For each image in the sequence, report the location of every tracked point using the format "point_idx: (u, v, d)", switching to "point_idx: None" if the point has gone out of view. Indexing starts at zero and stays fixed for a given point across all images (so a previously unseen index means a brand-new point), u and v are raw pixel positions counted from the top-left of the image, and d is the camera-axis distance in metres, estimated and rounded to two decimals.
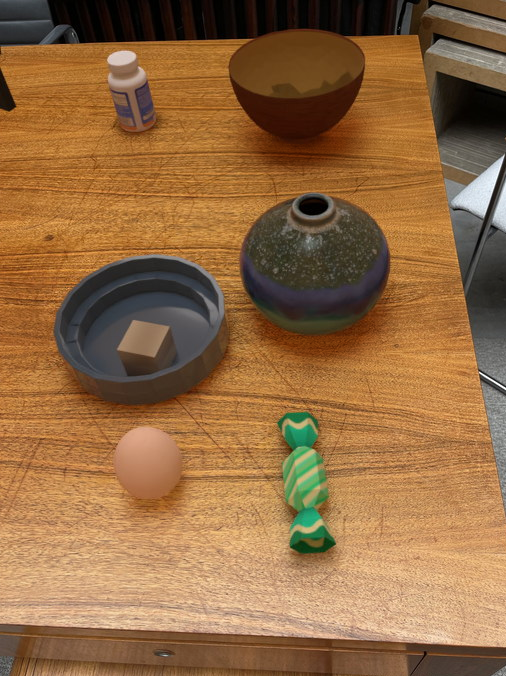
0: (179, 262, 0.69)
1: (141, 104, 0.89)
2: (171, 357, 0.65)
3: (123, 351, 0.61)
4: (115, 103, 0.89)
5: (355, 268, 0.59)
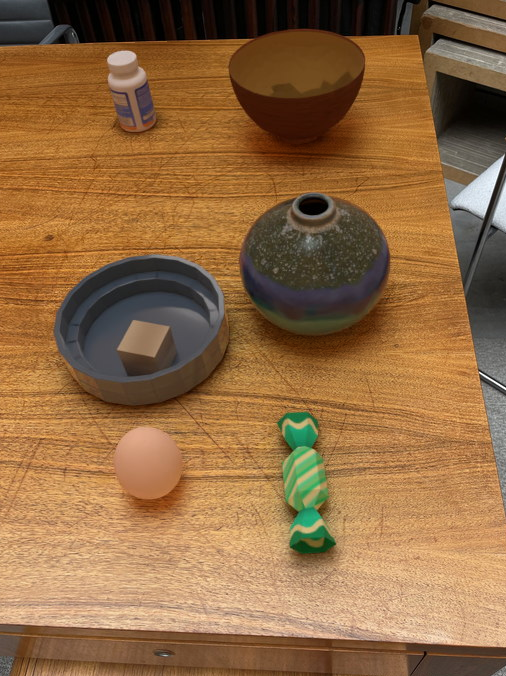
0: (179, 262, 0.69)
1: (141, 104, 0.89)
2: (171, 357, 0.65)
3: (123, 351, 0.61)
4: (115, 103, 0.89)
5: (355, 268, 0.59)
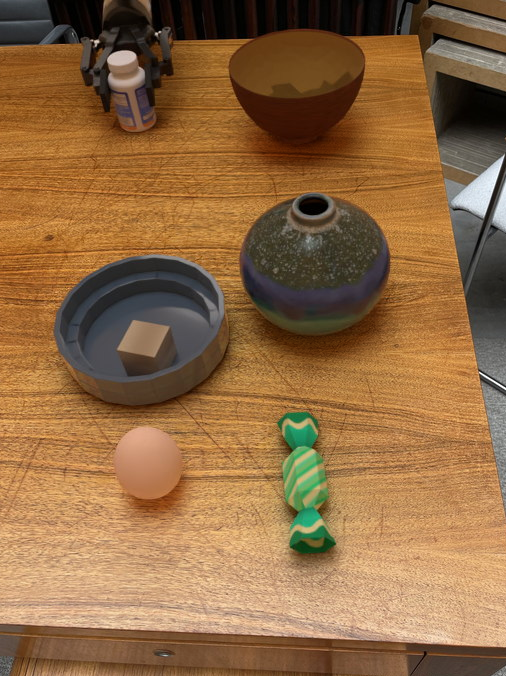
0: (179, 262, 0.69)
1: (141, 104, 0.89)
2: (171, 357, 0.65)
3: (123, 351, 0.61)
4: (115, 103, 0.89)
5: (355, 268, 0.59)
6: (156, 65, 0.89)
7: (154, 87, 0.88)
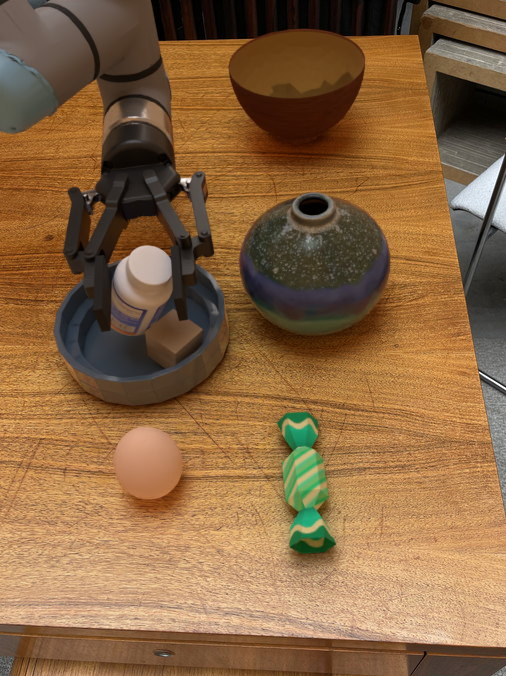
0: None
1: (157, 315, 0.60)
2: None
3: (150, 335, 0.61)
4: (117, 308, 0.59)
5: (355, 268, 0.59)
6: (188, 247, 0.57)
7: (185, 284, 0.56)
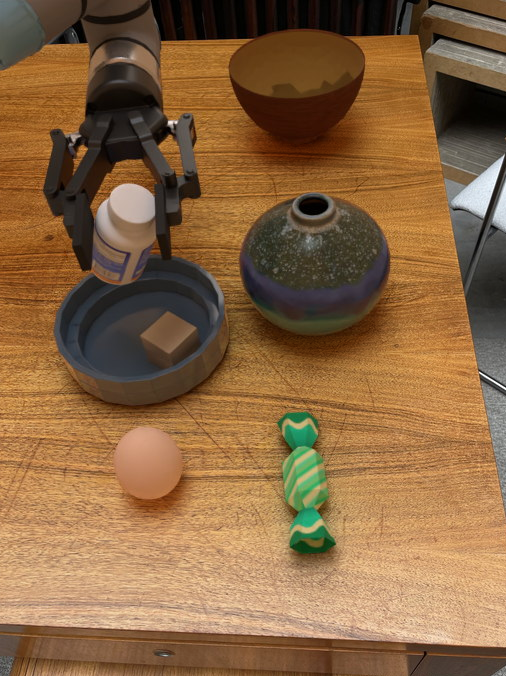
0: (179, 262, 0.69)
1: (142, 261, 0.57)
2: None
3: (145, 339, 0.62)
4: (100, 252, 0.56)
5: (355, 268, 0.59)
6: (173, 185, 0.54)
7: (170, 224, 0.53)
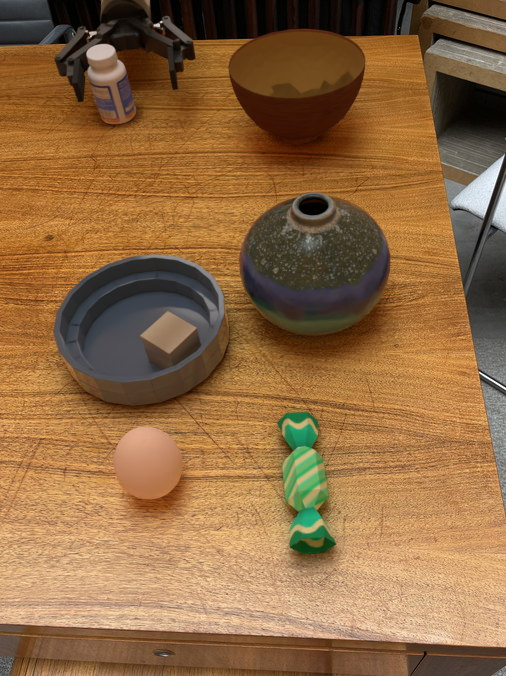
0: (179, 262, 0.69)
1: (123, 96, 0.91)
2: None
3: (145, 339, 0.62)
4: (97, 97, 0.90)
5: (355, 268, 0.59)
6: (178, 49, 0.89)
7: (176, 70, 0.88)
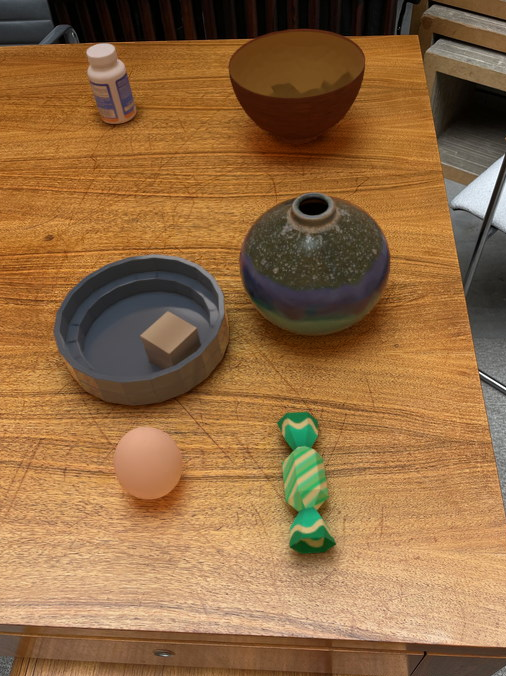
0: (179, 262, 0.69)
1: (122, 95, 0.91)
2: None
3: (145, 339, 0.62)
4: (96, 96, 0.91)
5: (355, 268, 0.59)
6: None
7: None
